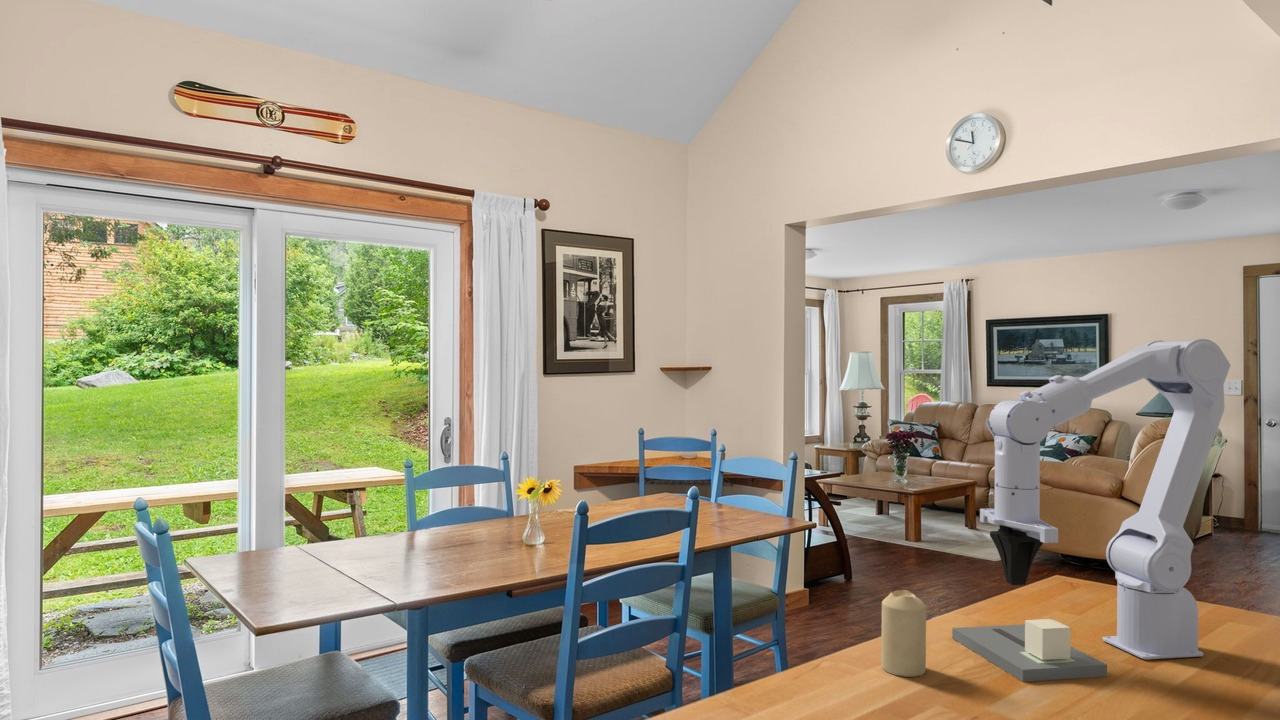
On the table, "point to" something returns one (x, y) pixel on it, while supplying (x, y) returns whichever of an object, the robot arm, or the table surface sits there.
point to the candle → (903, 634)
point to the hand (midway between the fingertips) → (1016, 583)
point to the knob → (1047, 639)
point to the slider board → (1025, 654)
